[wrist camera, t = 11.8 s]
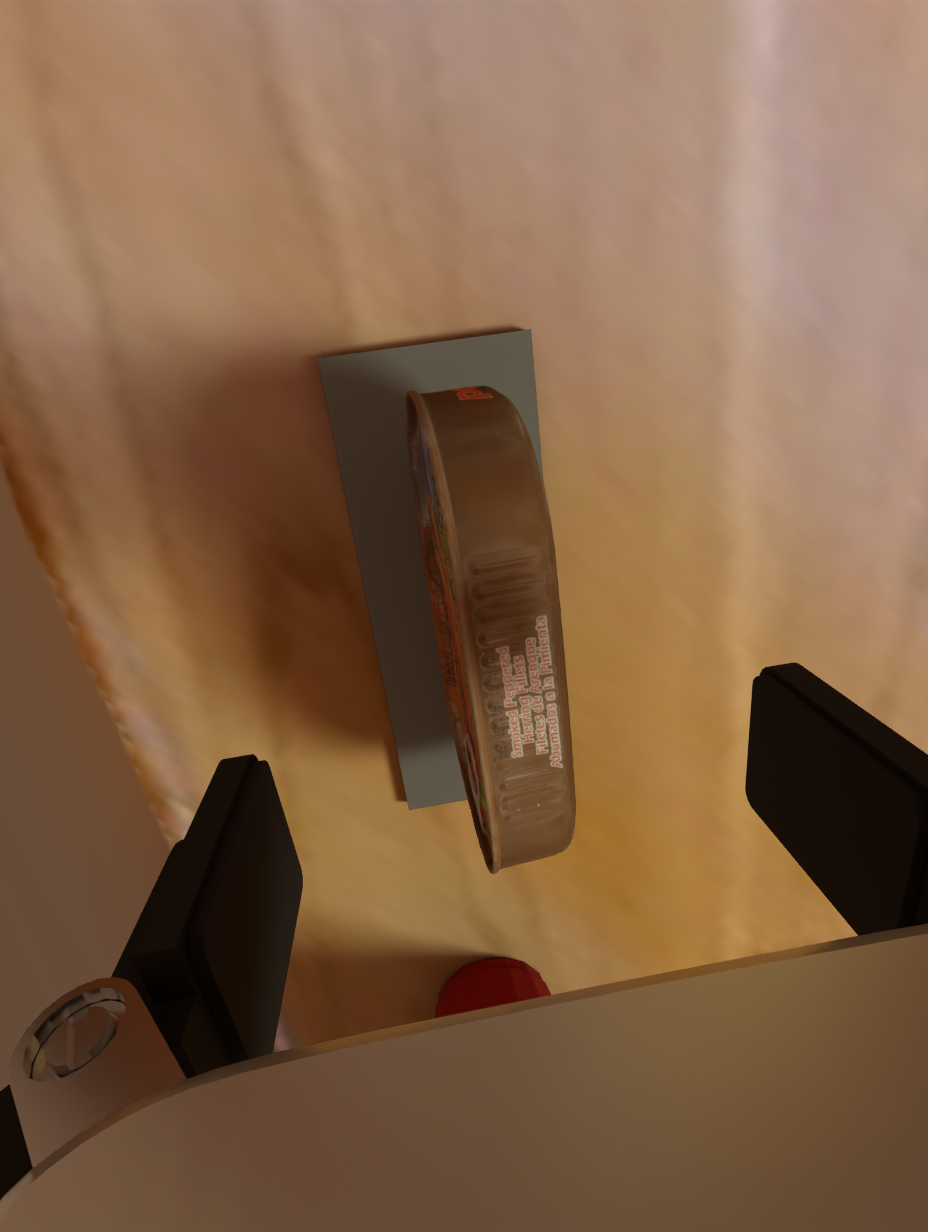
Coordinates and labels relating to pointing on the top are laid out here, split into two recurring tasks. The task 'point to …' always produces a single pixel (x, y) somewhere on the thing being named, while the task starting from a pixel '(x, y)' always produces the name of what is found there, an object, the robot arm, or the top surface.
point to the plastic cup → (489, 986)
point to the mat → (411, 525)
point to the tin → (495, 617)
